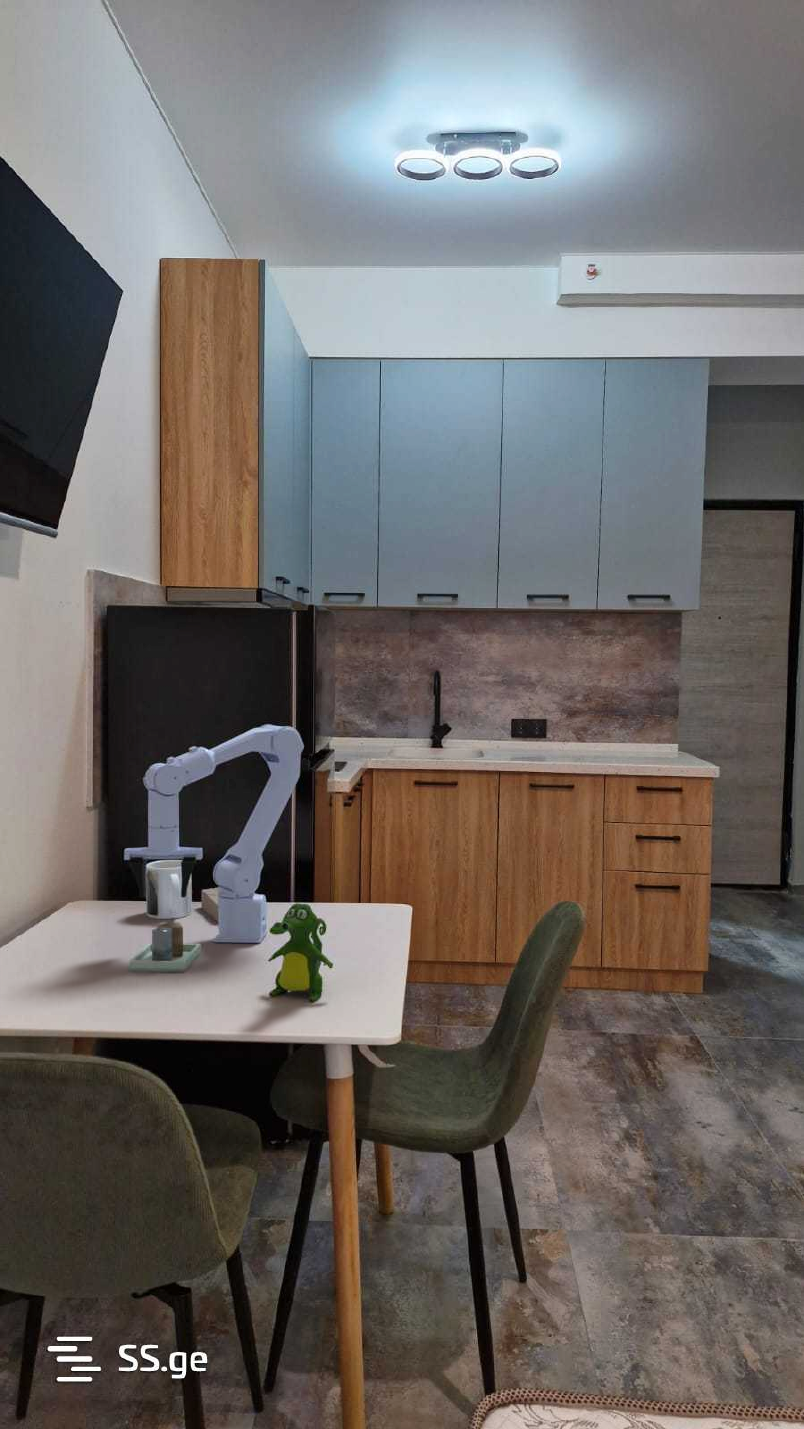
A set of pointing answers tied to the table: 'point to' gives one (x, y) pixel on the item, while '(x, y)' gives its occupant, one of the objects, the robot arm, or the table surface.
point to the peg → (162, 944)
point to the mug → (166, 890)
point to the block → (175, 937)
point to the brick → (210, 902)
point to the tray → (178, 964)
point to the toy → (300, 952)
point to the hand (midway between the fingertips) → (163, 896)
